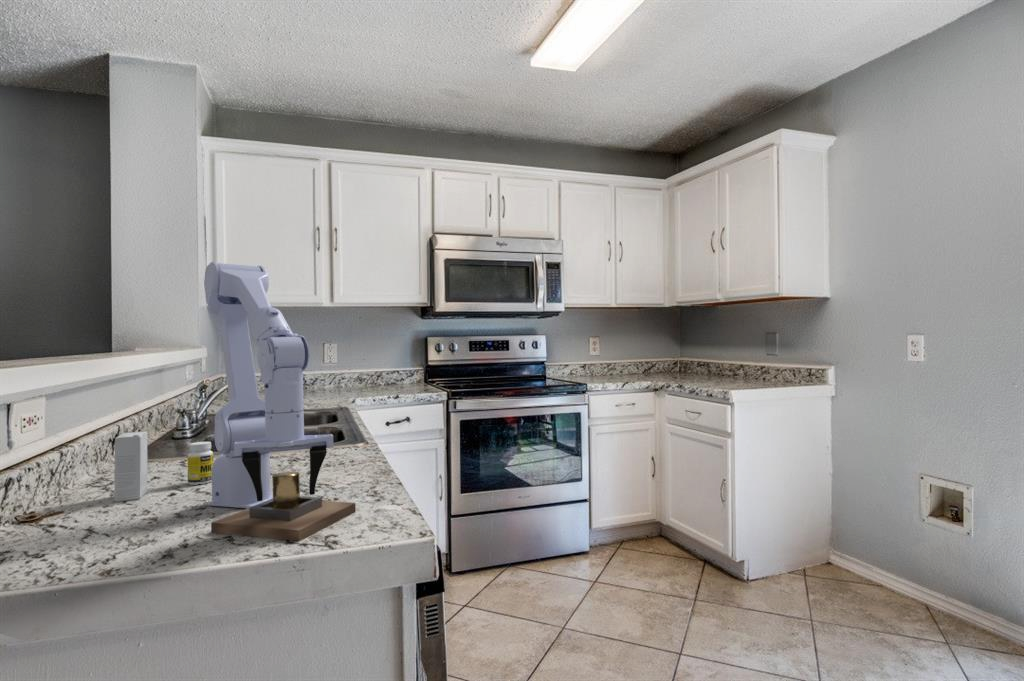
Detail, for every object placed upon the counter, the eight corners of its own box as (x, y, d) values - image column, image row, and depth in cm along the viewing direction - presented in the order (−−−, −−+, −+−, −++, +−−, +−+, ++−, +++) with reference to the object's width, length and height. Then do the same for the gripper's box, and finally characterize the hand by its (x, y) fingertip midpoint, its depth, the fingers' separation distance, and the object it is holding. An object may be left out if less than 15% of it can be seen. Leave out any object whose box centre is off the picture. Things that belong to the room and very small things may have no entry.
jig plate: (211, 532, 83) (211, 522, 83) (276, 505, 96) (276, 497, 96) (299, 540, 78) (299, 530, 78) (355, 511, 92) (355, 502, 92)
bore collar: (249, 517, 85) (249, 508, 85) (283, 504, 92) (283, 495, 92) (290, 521, 83) (290, 511, 83) (322, 506, 90) (321, 497, 90)
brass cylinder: (267, 515, 86) (266, 476, 86) (285, 507, 90) (284, 471, 90) (288, 516, 85) (287, 477, 85) (305, 509, 89) (304, 472, 89)
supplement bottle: (201, 485, 113) (201, 445, 113) (182, 485, 114) (181, 444, 114) (218, 480, 118) (218, 441, 118) (199, 479, 118) (199, 440, 119)
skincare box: (122, 494, 107) (121, 432, 108) (149, 491, 109) (148, 431, 109) (113, 502, 102) (112, 437, 102) (142, 499, 103) (140, 435, 104)
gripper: (231, 417, 81) (233, 509, 81) (334, 410, 87) (336, 496, 86) (235, 412, 88) (237, 497, 87) (330, 406, 93) (332, 486, 93)
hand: (286, 496), depth 87 cm, fingers open, 7 cm apart
